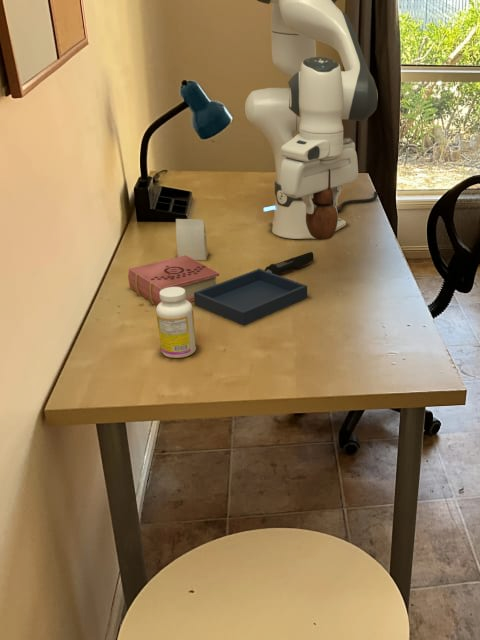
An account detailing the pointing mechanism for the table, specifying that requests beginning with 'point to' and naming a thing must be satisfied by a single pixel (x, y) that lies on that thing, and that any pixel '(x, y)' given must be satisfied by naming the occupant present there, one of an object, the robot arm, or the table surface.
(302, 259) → the electric trimmer
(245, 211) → the table surface
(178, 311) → the supplement bottle
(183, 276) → the book
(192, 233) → the white folded card
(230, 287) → the tray
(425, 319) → the table surface
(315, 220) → the wooden figurine
